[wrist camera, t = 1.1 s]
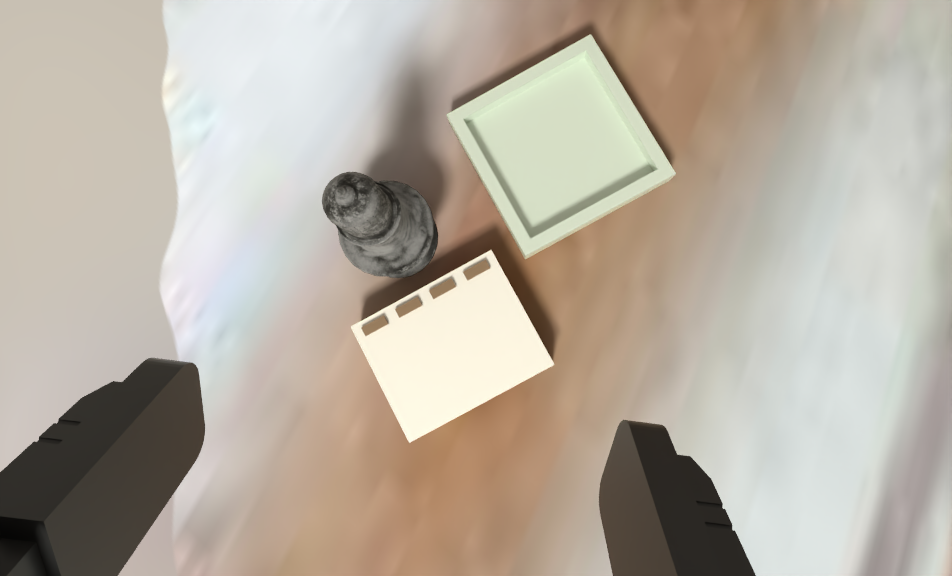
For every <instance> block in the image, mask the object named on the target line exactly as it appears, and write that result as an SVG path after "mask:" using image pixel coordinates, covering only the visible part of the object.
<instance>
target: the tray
mask: <svg viewBox="0 0 952 576" xmlns="http://www.w3.org/2000/svg"><path fill="white" fill-rule="evenodd" d="M446 115H447V118H448V121H449V124H450V125H451V127H452V129H453V131H454V133H455V134H456V136H457V138H458V140H459V141H460V143H461V145H462V147H463V149H464V150H465V152H466V154H467V156H468V158H469V159H470V161H471V163H472V165H473V167H474V168H475V170H476V172H477V174H478V176H479V177H480V179H481V181H482V183H483V184H484V186H485V188H486V190H487V192H488V193H489V195H490V197H491V199H492V201H493V202H494V204H495V206H496V208H497V210H498V211H499V213H500V215H501V217H502V219H503V220H504V222H505V224H506V226H507V227H508V229H509V231H510V233H511V235H512V236H513V238H514V240H515V242H516V244H517V245H518V247H519V249H520V251H521V253H522V254H523V256H524V258H525V259H527V258H529V257H531V256H532V255H534V254H536V253H538V252H540V251H542V250H543V249H545V248H547V247H549V246H551V245H553V244H554V243H556V242H558V241H560V240H562V239H564V238H565V237H567V236H569V235H571V234H573V233H575V232H576V231H578V230H580V229H582V228H584V227H586V226H587V225H589V224H591V223H593V222H595V221H597V220H598V219H600V218H602V217H604V216H606V215H608V214H609V213H611V212H613V211H615V210H617V209H619V208H620V207H622V206H624V205H626V204H628V203H630V202H631V201H633V200H635V199H637V198H639V197H641V196H642V195H644V194H646V193H648V192H650V191H652V190H653V189H655V188H657V187H659V186H661V185H663V184H664V183H666V182H668V181H670V180H671V179H672V177H673V176H674V175H675V174H676V173H675V171H674V170H673V168H672V166H671V165H670V163H669V161H668V160H667V158H666V156H665V155H664V153H663V152H662V150H661V148H660V147H659V145H658V143H657V142H656V140H655V138H654V137H653V135H652V134H651V132H650V130H649V129H648V127H647V125H646V124H645V122H644V120H643V119H642V117H641V116H640V114H639V112H638V111H637V109H636V107H635V106H634V104H633V102H632V101H631V99H630V97H629V96H628V94H627V93H626V91H625V89H624V88H623V86H622V84H621V83H620V81H619V79H618V78H617V76H616V75H615V73H614V71H613V70H612V68H611V66H610V65H609V63H608V61H607V60H606V58H605V57H604V55H603V53H602V52H601V50H600V48H599V47H598V45H597V43H596V42H595V40H594V39H593V37H592V35H591V34H590V35H588V36H586V37H585V38H583V39H581V40H579V41H577V42H576V43H574V44H572V45H570V46H568V47H567V48H565V49H563V50H561V51H560V52H558V53H556V54H554V55H552V56H551V57H549V58H547V59H545V60H543V61H542V62H540V63H538V64H536V65H534V66H533V67H531V68H529V69H527V70H525V71H524V72H522V73H520V74H518V75H516V76H515V77H513V78H511V79H509V80H507V81H506V82H504V83H502V84H500V85H498V86H497V87H495V88H493V89H491V90H489V91H488V92H486V93H484V94H482V95H481V96H479V97H477V98H475V99H473V100H472V101H470V102H468V103H466V104H464V105H463V106H461V107H459V108H457V109H455V110H454V111H452V112H450V113H448V114H446Z"/></svg>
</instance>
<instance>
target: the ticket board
mask: <svg viewBox="0 0 952 576" xmlns="http://www.w3.org/2000/svg"><path fill="white" fill-rule="evenodd" d="M351 328H352V330H353V332H354V334H355V336H356V338H357V340H358V342H359V344H360V346H361V348H362V350H363V352H364V354H365V356H366V358H367V360H368V362H369V364H370V366H371V368H372V370H373V372H374V374H375V376H376V378H377V380H378V382H379V384H380V386H381V388H382V390H383V392H384V394H385V396H386V398H387V400H388V402H389V404H390V406H391V408H392V410H393V412H394V414H395V416H396V418H397V420H398V421H399V423H400V425H401V427H402V429H403V431H404V433H405V435H406V437H407V439H408V441H409V443H410V442H412V441H414V440H415V439H417V438H419V437H421V436H423V435H425V434H427V433H428V432H430V431H432V430H434V429H436V428H438V427H440V426H441V425H443V424H445V423H447V422H449V421H451V420H453V419H454V418H456V417H458V416H460V415H462V414H464V413H466V412H467V411H469V410H471V409H473V408H475V407H477V406H479V405H480V404H482V403H484V402H486V401H488V400H490V399H492V398H493V397H495V396H497V395H499V394H501V393H503V392H505V391H506V390H508V389H510V388H512V387H514V386H516V385H518V384H519V383H521V382H523V381H525V380H527V379H529V378H531V377H532V376H534V375H536V374H538V373H540V372H542V371H544V370H545V369H547V368H549V367H551V366H553V365H554V363H553V361H552V359H551V357H550V355H549V354H548V352H547V350H546V348H545V346H544V345H543V343H542V341H541V339H540V337H539V336H538V334H537V332H536V330H535V328H534V326H533V325H532V323H531V321H530V319H529V317H528V316H527V314H526V312H525V310H524V308H523V306H522V305H521V303H520V301H519V299H518V297H517V296H516V294H515V292H514V290H513V288H512V286H511V285H510V283H509V281H508V279H507V277H506V276H505V274H504V272H503V270H502V268H501V267H500V265H499V263H498V261H497V259H496V257H495V256H494V254H493V252H492V250H490V251H488V252H486V253H484V254H482V255H481V256H479V257H477V258H475V259H473V260H471V261H470V262H468V263H466V264H464V265H462V266H461V267H459V268H457V269H455V270H453V271H451V272H450V273H448V274H446V275H444V276H442V277H440V278H439V279H437V280H435V281H433V282H431V283H429V284H428V285H426V286H424V287H422V288H420V289H419V290H417V291H415V292H413V293H411V294H409V295H408V296H406V297H404V298H402V299H400V300H398V301H397V302H395V303H393V304H391V305H389V306H387V307H386V308H384V309H382V310H380V311H378V312H377V313H375V314H373V315H371V316H369V317H367V318H366V319H364V320H362V321H360V322H358V323H356V324H355V325H353V326H351Z"/></svg>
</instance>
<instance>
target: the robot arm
mask: <svg viewBox="0 0 952 576" xmlns="http://www.w3.org/2000/svg"><path fill="white" fill-rule="evenodd" d="M204 435H205V423H204V414H203V405H202V397H201V388H200V380H199V372H198V369H197V367H196V365H195V364H193V363H189V362H181V361H174V360H165V359H158V358H149V359H147V360H145V361H144V362H143V363H142V364H140V365H139V366H138V367H137V368H136V369H135V370H134V371H133V372H132V373H131V374H130V375H129V376H128V377H127V378H126V379H125V380H124V381H123V382H114V381H113V382H111V383H109V384H107V385H105V386H103V387H101V388H100V389H98V390H96V391H94V392H92V393H90V394H88V395H86V396H84V397H82V398H81V399H80V400H79V401H78V402H77V403H76V404H75V405H73V406H72V407H71V408H70V409H69V410H68V411H67V412H66V413H65V414H64V415H63V416H61V417H60V418H59V421H58V423H57V424H53V425H52V426H50V427H49V428H48V429H47V430H46V431H45V432H44V433H43V434H42V435H41V436H40V437H39V440H38V442H33V443H32V444H31V445H30V446H29V447H28V448H27V449H25V450H24V451H23V452H22V453H21V454H20V455H19V456H18V457H17V458H16V459H14V460H13V461H12V462H11V463H10V464H9V465H8V466H7V467H6V468H5V469H4V470H2V471H1V472H0V576H118V574H119V573H120V571H121V570H122V568H123V567H124V565H125V564H126V562H127V561H128V559H129V558H130V557H131V555H132V554H133V552H134V551H135V549H136V548H137V546H138V545H139V543H140V542H141V540H142V539H143V537H144V536H145V535H146V533H147V532H148V530H149V529H150V527H151V526H152V524H153V523H154V521H155V520H156V518H157V517H158V515H159V514H160V513H161V511H162V510H163V508H164V507H165V505H166V504H167V502H168V501H169V499H170V498H171V496H172V495H173V493H174V492H175V491H176V489H177V488H178V486H179V485H180V483H181V482H182V480H183V479H184V477H185V476H186V474H187V473H188V471H189V470H190V468H191V467H192V466H193V464H194V463H195V461H196V459H197V457H198V455H199V453H200V451H201V448H202V445H203V441H204ZM722 505H723V504H722V502H721V499H720V497H719V495H718V493H717V491H716V489H715V486H714V484H713V482H712V480H711V478H710V477H709V476H708V475H707V474H706V473H705V472H704V471H703V470H702V469H701V468H700V466H699V465H698V464H697V463H696V462H695V461H694V460H693V459H692V458H691V457H690V456H683V455H677V453H676V451H675V449H674V446H673V444H672V441H671V439H670V436H669V434H668V432H667V429H666V428H665V427H664V426H663V425H659V424H651V423H643V422H636V421H628V420H623V421H621V423H620V424H619V426H618V429H617V432H616V435H615V438H614V441H613V444H612V447H611V450H610V453H609V457H608V460H607V463H606V466H605V469H604V472H603V475H602V479H601V483H600V491H599V507H600V514H601V519H602V524H603V529H604V534H605V539H606V544H607V548H608V553H609V558H610V563H611V568H612V573H613V576H756V575H755V573H754V571H753V569H752V567H751V564H750V562H749V560H748V558H747V556H746V554H745V551H744V549H743V547H742V545H741V543H740V541H739V538H738V536H737V534H736V532H735V531H733V530H732V523H731V521H730V519H729V517H728V515H727V512H726V510H725V509H723V508H722Z"/></svg>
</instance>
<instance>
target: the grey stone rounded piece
mask: <svg viewBox="0 0 952 576" xmlns="http://www.w3.org/2000/svg"><path fill="white" fill-rule="evenodd" d="M322 204H323V209H324V211H325V213H326V215H327V217H328V218H329V220H330V221H331V222H332V223H334V224H335V225H336V226H337V228H338V235H339V240H340V245H341V247H342V249H343V251H344V253H345V256H346V257H347V258H348V259H349V260H350V261H351V263H352V264H353V265H354V266H356V267H357V268H359V269H360V270H362V271H363V272H365V273H369V274H372V275H375V276H387V277H391V278H404V277H408V276H412V275H414V274H416V273H418V272H420V271H421V270H422V269H423V268H424V267H426V266H427V265H428V264H429V262H430V261H431V259H432V258H433V256H434V254H435V251H436V248H437V240H438V234H437V229H436V225H435V223H434V221H433V217H432V212H431V210H430V208H429V206H428V204H427V202H426V200H425V199H424V198H423V197H422V196H421V195H420V194H419V193H418V192H417V191H416V190H414V189H413V188H411V187H410V186H408V185H406V184H403V183H399V182H396V181H380V182H375V181H373V180H372V179H371V178H370V177H368V176H366V175H364V174H361V173H357V172H347V173H342V174H340V175H338V176H336V177H335V178H333V179H332V180H331V181H330V182H329V183H328V185H327V186H326V188H325V190H324V193H323V198H322Z"/></svg>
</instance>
